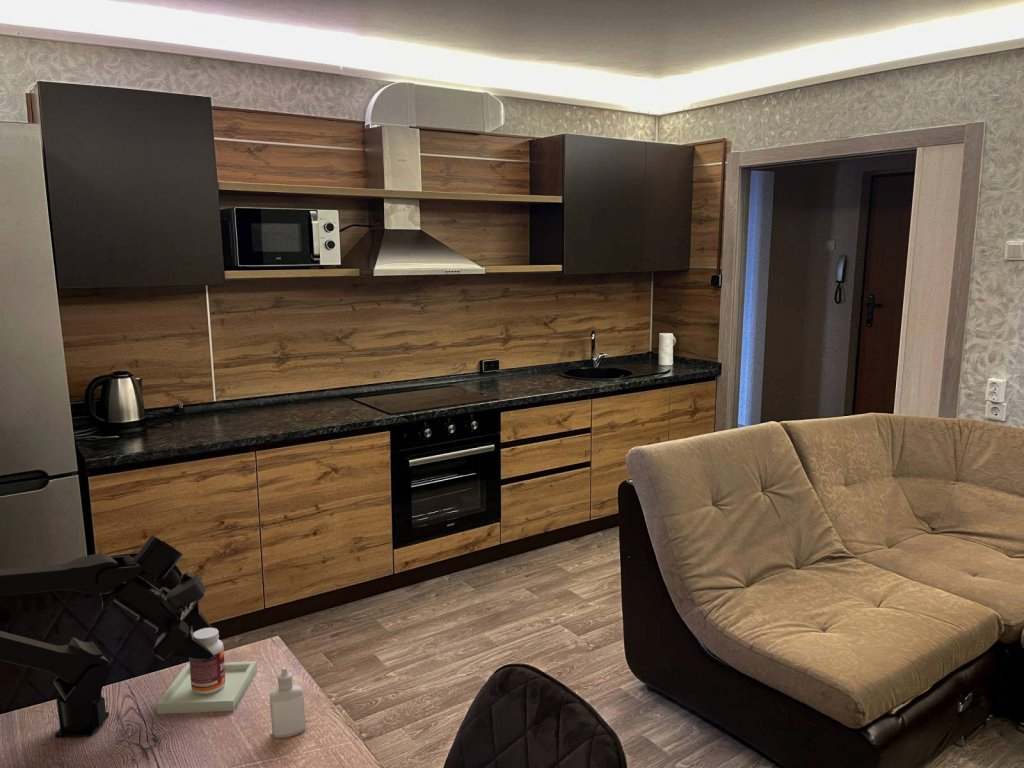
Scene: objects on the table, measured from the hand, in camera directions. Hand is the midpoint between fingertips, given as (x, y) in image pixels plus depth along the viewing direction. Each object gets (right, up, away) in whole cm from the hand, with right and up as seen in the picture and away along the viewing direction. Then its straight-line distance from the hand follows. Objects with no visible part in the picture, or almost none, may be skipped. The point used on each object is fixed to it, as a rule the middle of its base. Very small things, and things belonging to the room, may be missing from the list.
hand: (213, 646), depth 143 cm
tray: (-1, -9, +1) cm, 9 cm away
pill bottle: (-1, -8, +1) cm, 8 cm away
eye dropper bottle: (+18, -11, -12) cm, 25 cm away
